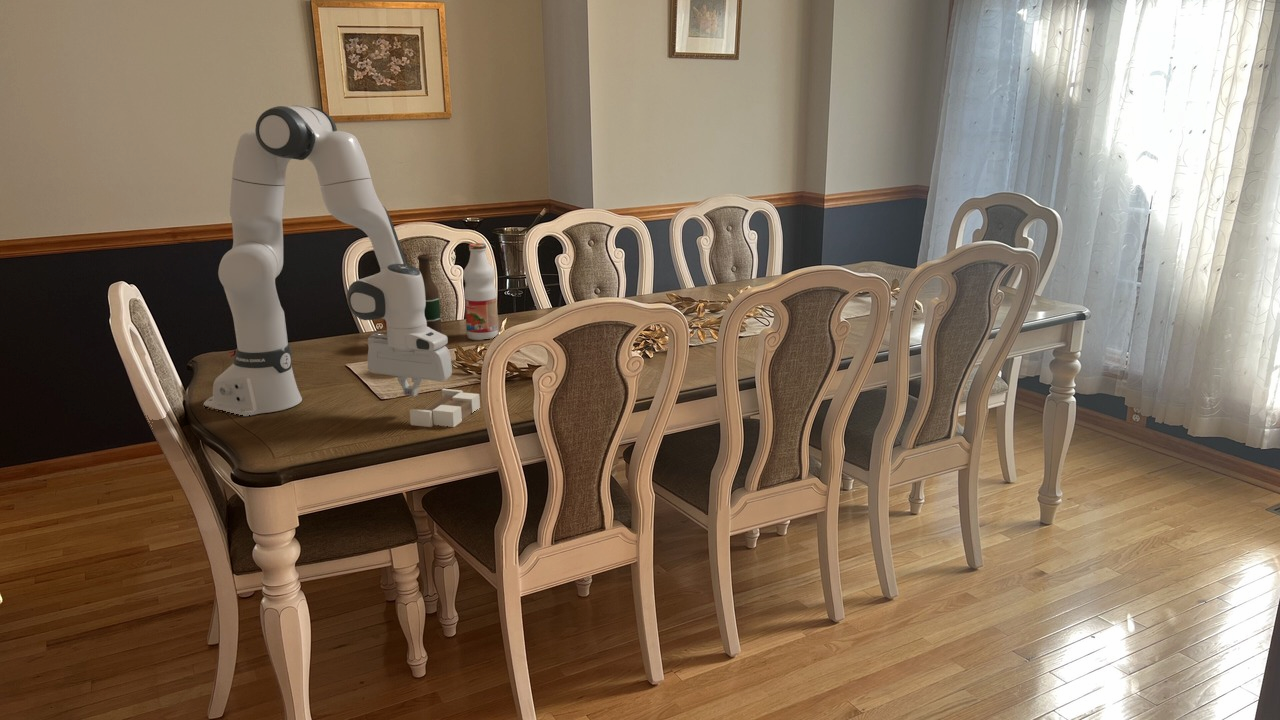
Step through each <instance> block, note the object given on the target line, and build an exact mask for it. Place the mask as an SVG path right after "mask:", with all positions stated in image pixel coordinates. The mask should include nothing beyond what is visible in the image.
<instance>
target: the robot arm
mask: <svg viewBox="0 0 1280 720" xmlns="http://www.w3.org/2000/svg"><path fill="white" fill-rule="evenodd" d="M291 160H298V161H304V160H307V161H309V162H311V164H312V165H313V166H314V168H315V171H316V174H317V177H318V182H319V186H320V192H321V196H322V199H323V202H324V205H325V207H326V209H327V211H328V213H329V214H330V215H331V216H332V217H334V218H335V219H336V220H337V221H340V222H342V223H343V224H345V225H346V224H347V225H350V226H353V227H355V228H357V229H359V230H361V231H363V232H364V233H365V235H366V236H367V237H368V238H369V240H370V242H371V245H372V248H373V251H374V254H375V257H376V259H377V262H378V265H379V268H380V271H379V272H378V273H375V274H373V275H369V276H366V277H364V278H363V277H362V278H359V279H357V280H356V281H354V282H352V283H351V284H350V285H349V287H348V289H347V294H346V302H347V305H348V306H347V307H348V308H349V310H350V312H351V313H352V314H353V315H354V316H355V317H356V318H357V319H359V320H362V321H374V320H381V319H382V320H383V319H385V320H386V326H387V332H386V333H377V332H373V333H372V334H371V335H369V337H368V338H367V346H368V351H367V369H368V371H369V372H370V373H372V374H378V375H379V374H380V375H386V376H394V377H397V382H398V383H399V385H400V386H401V388H402V394H403V395H404V396H412V397H416V396H418V395H419V386H420V385H421V383H422V381H423V380H425V381H434V382H444V381H446V380H448V379H449V378H450V377H451V376H452V374H453V367H452V358H451V353H450V350H449V349H448V347H447V346H446V345H447V344H448V341H449V340H448V339H449V338H448V335H446V334H444V333H442V332H441V333H439V332H437V331H435V330H433V329H431V328H429V327H427V321H426V318H425V314H424V311H425V306H426V298H425V287H424V281H423V277H422V275H421V272H420V271H419V268H418V267H415V266H414V265H410V264H408V263H407V262H406V257H405V255H404V252H403V250H402V245H401V243H400V241H399V238H398V235H397V232H396V229H395V226H394V224H393V222H392V218H391V216H390V214H389V212H388V210H387V208H386V207H385V206H384V205H383V204H382V202H381V200H380V198H379V197H378V195H377V193H376V189H375V187H374V183H373V181H372V180H373V179H372V176H371V173H370V168H369V165H368V162H367V159H366V156H365V153H364V151H363V149H362V147H361V144H360V142H359V140H358V138H357V137H356V136H355V135H354V134H352V133H350V132H348V131H343V130H338V129H337V125H336V122H335V121H334V120H333V118H332V117H331V115H329V114H328V113H327V112H325V111H324V110H322V109H320V108H316V107H312V106H305V105H295V104H294V105H288V106H282V105H279V106H278V105H277V106H275V107H274V106H273V107H271V108H269V109H267V110H265V111H264V112H262V113H261V114H260V115H259V117H258V119H257V120H256V123H255V129H253V130H249V131H245V132H244V133H243V134H241V135H240V137H239V139H238V142H237V145H236V148H235V153H234V158H233V162H232V163H233V165H232V172H231V183H230V184H231V185H230V201H229V202H230V203H229V215H230V219H231V225H232V227H231V228H232V240H233V241H232V242H233V243H232V247H231V249H230V250H228V251H227V252H225V254H224V255H223V256H222V258H221V260H220V263H219V266H218V272H217V274H218V279H219V281H220V283H221V285H222V287H223V291H224V293H225V296H226V300H227V302H228V305H229V308H230V311H231V314H232V319H233V325H234V326H233V327H234V331H235V332H234V333H235V338H236V345H237V348H235V349H234V350H231V351H230V352H228V354H229V355H228V358H231V357H233V361H232V364H231V365H229V367H227V368H226V369H225V370H224V371H223V372H222V373H221V374H219V375H218V376H217V377H216V378H215V379H214V382H213V385H212V396H210V397H209V398H207V399H206V400H205V401H204V402H203V406H204V405H205V406H209V407H212V408H215V409H219V410H223V411H226V412H225V413H227V412H230V413H229V414H231V413H234V414H233V415H236V414H239V415H238V416H240V415H243V416H242V417H250V416H255V415H258V414H260V415H261V414H265V413H273V412H274V413H275V412H279V411H284V410H287V409H290V408H293V407H296V406H297V405H299V404H300V403H301V402H302V400H303V397H302V395H301V394H300V391H299V387H298V385H297V382H296V379H295V375H294V374H295V373H294V371H293V366H292V364H293V363H292V361H293V360H292V359H293V356H292V349H291V344H290V343H289V342H288V333H287V325H286V317H285V311H284V309H283V307H282V305H281V302H280V299H279V295H278V291H277V286H276V278H277V277H278V276H279V275H280V273H281V272H282V270H283V266H284V228H283V216H284V215H283V211H284V200H285V199H284V198H285V188H286V172H287V167H288V164H289V163H290V161H291ZM408 378H411V382H412V383H413V385H410V384H409V382H408V380H407V379H408ZM249 415H250V416H249Z"/></svg>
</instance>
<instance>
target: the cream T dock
mask: <svg viewBox="0 0 1280 720" xmlns="http://www.w3.org/2000/svg"><path fill="white" fill-rule="evenodd" d="M445 395H455V396H453V397H452V401H465V402H470V412H471V413H473V412H474V411H476V410H477V409H478V410H480V409H481V401H480V399H481V398H480V394H479V393H471V392H464V391H463V390H461V389H452V388H451V389H448V388H442V389H441V397H443V396H445ZM479 408H480V409H479ZM478 410H477V411H478ZM477 411H476V412H477ZM474 413H475V412H474ZM474 413H473V414H474ZM409 419H410V421H409V422H410V425H411V426H416V427H417V426H418V427H426V428H427V427H429V428H432V427H433V426H438V425H439V427H440V426H441V427H447V426H448V428H456V426H457V425H459V424H460V423H462V421H463V420H462V413H461V407H460V406H450V405H440V406H438V407H437V408H435V409H434V410H433V419H432V411H430V410H423V409H418V408H411V409H409Z"/></svg>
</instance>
